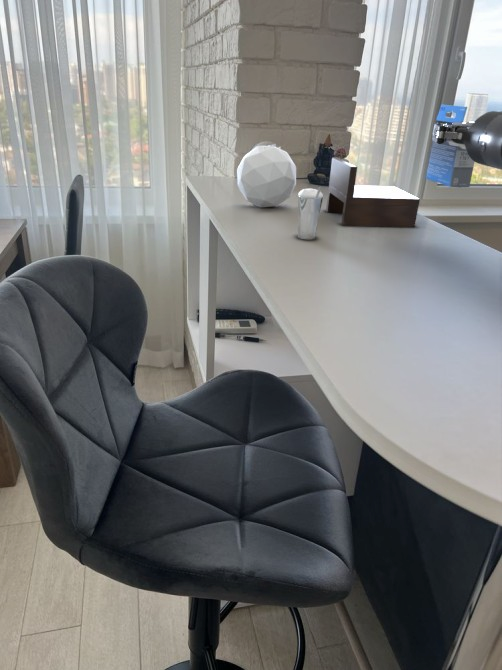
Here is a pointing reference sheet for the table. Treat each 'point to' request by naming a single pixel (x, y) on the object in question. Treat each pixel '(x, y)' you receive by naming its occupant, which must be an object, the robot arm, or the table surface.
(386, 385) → the table surface
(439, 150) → the label tape box
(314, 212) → the milkshake
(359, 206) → the l-shaped wooden block
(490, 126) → the robot arm
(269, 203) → the geodesic sphere
